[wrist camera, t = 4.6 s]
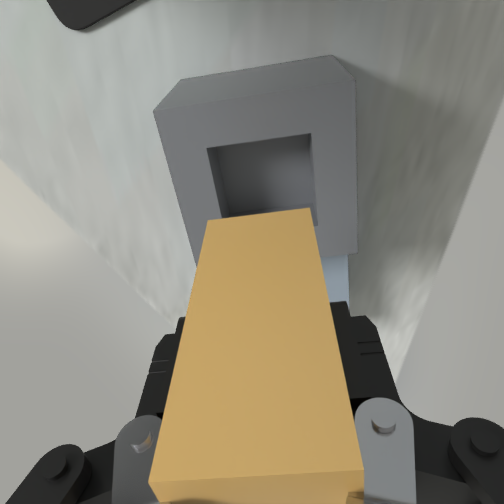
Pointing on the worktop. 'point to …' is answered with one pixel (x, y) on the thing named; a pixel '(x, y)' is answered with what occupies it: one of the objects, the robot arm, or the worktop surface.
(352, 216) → the socket block
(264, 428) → the plug
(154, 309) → the worktop surface
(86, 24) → the phone
